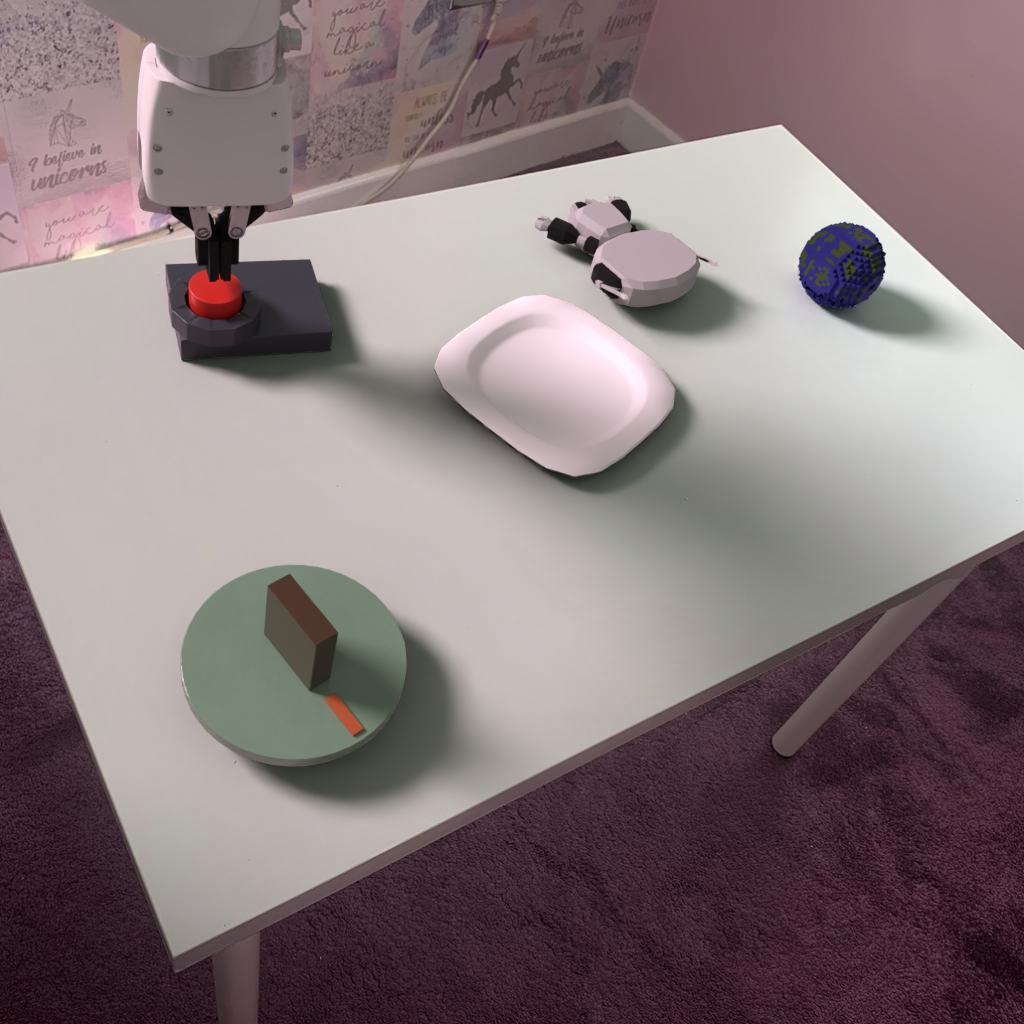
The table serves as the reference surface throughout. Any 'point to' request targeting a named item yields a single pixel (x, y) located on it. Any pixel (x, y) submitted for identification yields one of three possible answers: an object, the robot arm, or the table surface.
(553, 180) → the table surface
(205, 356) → the button block
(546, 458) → the plate
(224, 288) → the button
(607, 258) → the robot toy
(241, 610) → the turntable plate
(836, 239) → the ball
